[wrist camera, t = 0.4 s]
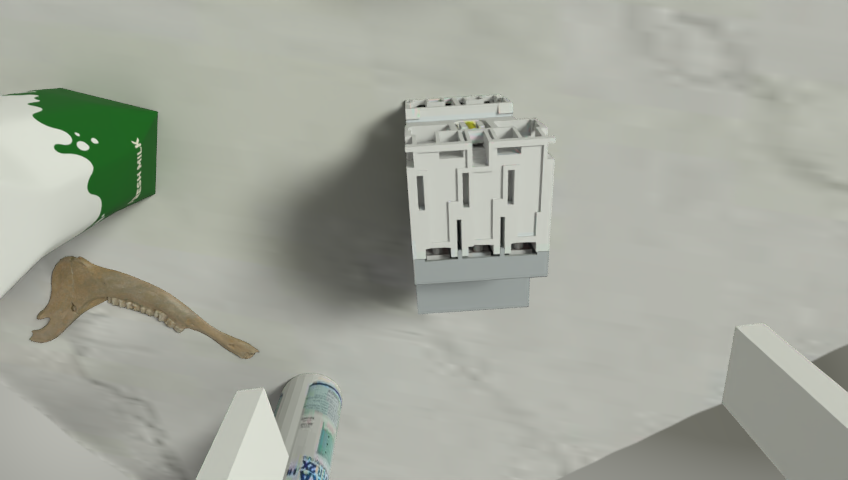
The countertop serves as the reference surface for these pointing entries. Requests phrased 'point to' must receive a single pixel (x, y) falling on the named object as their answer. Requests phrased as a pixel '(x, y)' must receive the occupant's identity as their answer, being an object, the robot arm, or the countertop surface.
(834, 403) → the robot arm
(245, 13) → the countertop surface
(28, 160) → the milk carton
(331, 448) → the spray can
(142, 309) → the jawbone
